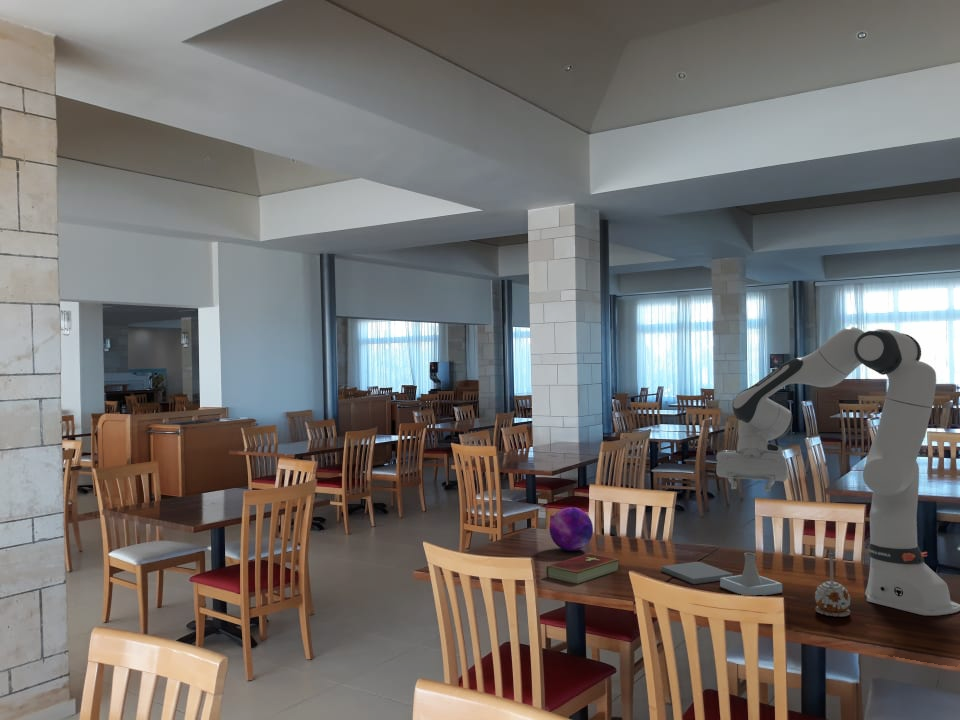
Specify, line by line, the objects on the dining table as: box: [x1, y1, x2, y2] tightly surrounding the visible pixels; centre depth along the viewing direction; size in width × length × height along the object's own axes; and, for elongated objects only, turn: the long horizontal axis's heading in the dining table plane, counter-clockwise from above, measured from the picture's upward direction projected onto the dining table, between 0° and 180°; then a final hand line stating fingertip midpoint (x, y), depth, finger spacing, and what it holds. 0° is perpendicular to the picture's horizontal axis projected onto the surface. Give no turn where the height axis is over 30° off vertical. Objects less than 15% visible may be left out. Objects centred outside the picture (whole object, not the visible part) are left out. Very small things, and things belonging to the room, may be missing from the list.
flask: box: [739, 552, 763, 587], centre depth 211 cm, size 7×7×10 cm
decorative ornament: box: [814, 553, 851, 618], centre depth 189 cm, size 8×8×15 cm
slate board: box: [660, 561, 734, 585], centre depth 227 cm, size 16×14×2 cm
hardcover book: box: [545, 552, 620, 585], centre depth 231 cm, size 12×21×4 cm, turn 135°
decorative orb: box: [549, 506, 594, 552], centre depth 262 cm, size 15×15×15 cm
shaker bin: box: [719, 574, 783, 596], centre depth 211 cm, size 12×12×2 cm
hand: (750, 489), depth 222 cm, fingers open, 8 cm apart
